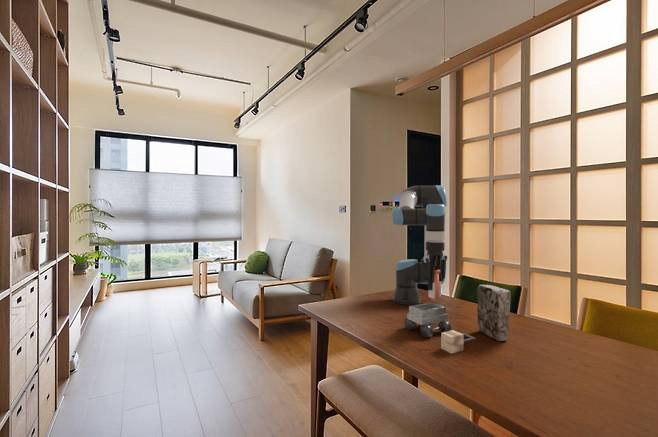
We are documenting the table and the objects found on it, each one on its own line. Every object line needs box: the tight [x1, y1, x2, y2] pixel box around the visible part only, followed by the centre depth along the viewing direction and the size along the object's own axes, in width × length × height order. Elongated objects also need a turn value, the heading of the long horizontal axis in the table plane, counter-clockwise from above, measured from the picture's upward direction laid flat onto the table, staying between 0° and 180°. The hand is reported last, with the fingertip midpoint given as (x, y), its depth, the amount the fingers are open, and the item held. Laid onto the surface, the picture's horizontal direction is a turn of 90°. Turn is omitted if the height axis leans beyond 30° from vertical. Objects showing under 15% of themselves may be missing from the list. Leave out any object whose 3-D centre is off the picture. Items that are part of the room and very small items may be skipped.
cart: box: [403, 302, 452, 339], centre depth 144 cm, size 14×15×10 cm
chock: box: [440, 329, 465, 354], centre depth 125 cm, size 6×5×6 cm
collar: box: [460, 332, 477, 344], centre depth 135 cm, size 6×6×1 cm
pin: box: [430, 269, 440, 302], centre depth 142 cm, size 4×4×13 cm
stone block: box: [476, 284, 512, 342], centre depth 138 cm, size 13×7×20 cm, turn 19°
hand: (434, 296), depth 142 cm, fingers closed on pin, 3 cm apart
